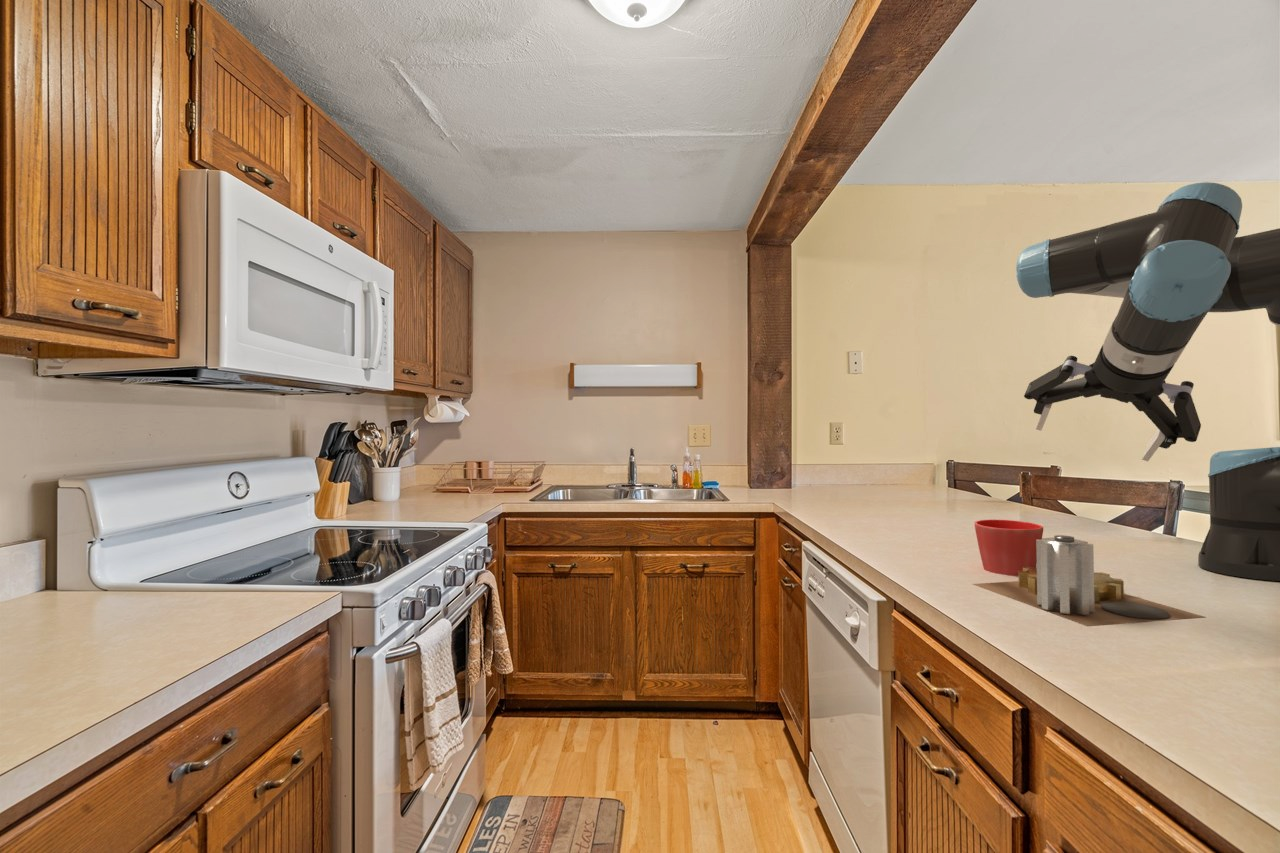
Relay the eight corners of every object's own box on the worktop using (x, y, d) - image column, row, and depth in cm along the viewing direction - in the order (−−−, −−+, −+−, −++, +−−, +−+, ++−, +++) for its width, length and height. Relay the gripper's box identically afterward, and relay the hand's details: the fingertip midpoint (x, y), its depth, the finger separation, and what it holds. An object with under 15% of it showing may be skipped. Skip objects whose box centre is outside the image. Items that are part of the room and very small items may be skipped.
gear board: (1069, 583, 105) (1069, 576, 105) (1206, 624, 83) (1206, 614, 83) (972, 589, 102) (972, 582, 102) (1087, 633, 80) (1087, 623, 80)
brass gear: (1070, 578, 105) (1069, 558, 105) (1146, 600, 91) (1146, 577, 91) (999, 582, 103) (999, 562, 103) (1067, 605, 89) (1067, 582, 89)
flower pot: (1049, 586, 104) (1048, 530, 104) (977, 579, 108) (976, 526, 108) (1038, 572, 113) (1038, 521, 113) (973, 567, 118) (972, 518, 118)
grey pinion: (1065, 600, 92) (1064, 531, 92) (1106, 614, 85) (1105, 540, 85) (1026, 603, 91) (1025, 533, 91) (1064, 617, 84) (1063, 542, 84)
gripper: (1015, 350, 80) (993, 430, 96) (1266, 407, 66) (1190, 488, 83) (1034, 308, 82) (1009, 394, 99) (1281, 355, 68) (1203, 445, 85)
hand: (1092, 437), depth 91 cm, fingers open, 13 cm apart
